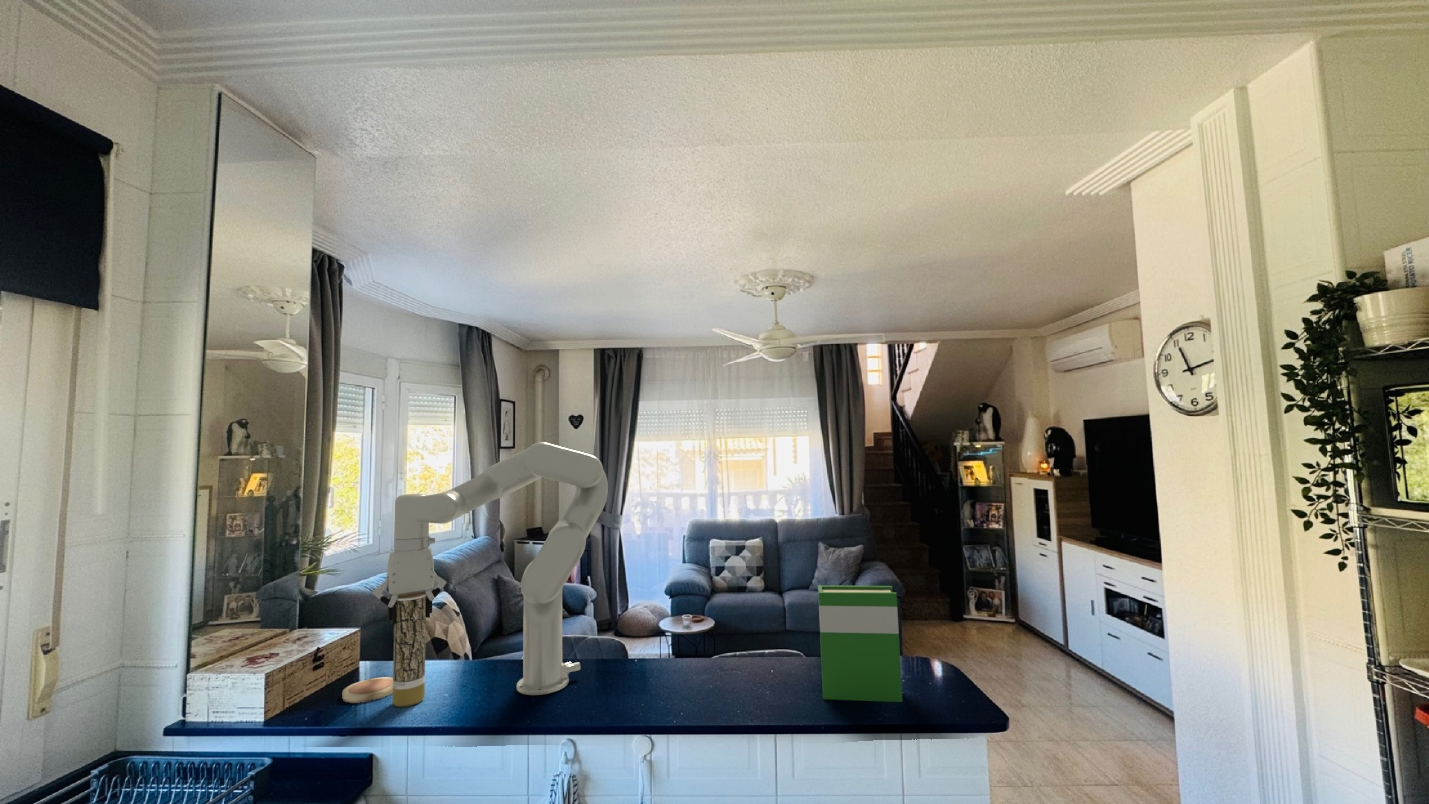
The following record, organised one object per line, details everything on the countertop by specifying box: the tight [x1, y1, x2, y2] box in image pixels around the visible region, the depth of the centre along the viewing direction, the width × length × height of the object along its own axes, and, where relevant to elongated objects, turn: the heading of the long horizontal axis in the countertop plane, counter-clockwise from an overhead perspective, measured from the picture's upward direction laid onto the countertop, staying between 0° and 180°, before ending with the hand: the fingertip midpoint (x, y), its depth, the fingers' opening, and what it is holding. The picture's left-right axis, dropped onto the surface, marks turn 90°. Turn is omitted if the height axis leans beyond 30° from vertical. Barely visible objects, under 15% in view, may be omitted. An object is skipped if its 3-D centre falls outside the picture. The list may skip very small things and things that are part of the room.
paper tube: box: [392, 591, 427, 708], centre depth 139 cm, size 7×7×25 cm
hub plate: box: [341, 676, 393, 704], centre depth 145 cm, size 12×12×2 cm
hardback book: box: [817, 585, 903, 703], centre depth 137 cm, size 18×7×24 cm, turn 81°
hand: (410, 619), depth 140 cm, fingers closed on paper tube, 6 cm apart
